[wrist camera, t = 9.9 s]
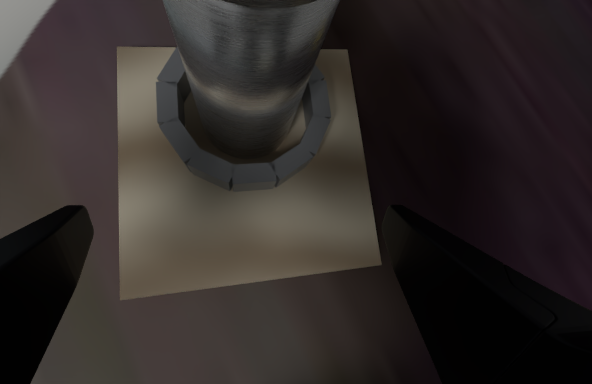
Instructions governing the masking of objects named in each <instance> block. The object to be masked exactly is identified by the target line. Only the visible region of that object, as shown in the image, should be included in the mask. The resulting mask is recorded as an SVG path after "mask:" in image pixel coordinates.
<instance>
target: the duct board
mask: <svg viewBox="0 0 592 384" xmlns="http://www.w3.org/2000/svg"><path fill="white" fill-rule="evenodd" d="M175 49H176V48H174V47H117V90H118V175H119V260H120V300H126V299H134V298H141V297H148V296H156V295H163V294H170V293H178V292H185V291H193V290H200V289H207V288H215V287H222V286H229V285H237V284H244V283H252V282H259V281H266V280H274V279H281V278H288V277H296V276H303V275H311V274H318V273H325V272H333V271H340V270H347V269H355V268H362V267H370V266H377V265H382V264H381V258H380V251H379V245H378V239H377V233H376V226H375V220H374V214H373V207H372V201H371V195H370V189H369V182H368V176H367V170H366V163H365V157H364V151H363V144H362V138H361V132H360V126H359V119H358V113H357V107H356V100H355V94H354V88H353V81H352V75H351V69H350V63H349V56H348V50H343V49H321V50H320V52H319V55H318V57H317V60H316V63H315V65H316V66H317V67H318V69H319V70H320V71H321V73H322V74H323V75H324V77H325V78H324V80H326V83H327V90H328V97H329V104H330V111H331V118H330V120H331V121H330V123H329V125H328V128H327V130H326V132H325V135H324V137H323V139H322V141H321V144H320V146H319V148H318V151H317V153H316V155H315V156H314V157H313V159H312V160H311V161H310V163H309V164H308V165H307V166H306V167H305V168H304V169H303V170H301V171H300V172H298V173H297V174H295V175H294V176H292V177H291V178H289V179H288V180H287V181H285V182H284V183H282V184H281V185H279V186H278V187H275V186H274V187H273V189H265V190H252V191H240V192H234V191H233V186H232V188H231V190H230V191H228V190H226V189H224V188H222V187H219V186H217V185H215V184H213V183H211V182H208V181H206V180H204V179H202V178H200V177H198V176H195V175H193V173H192V172H190V171H189V169H188V168H187V167H186V165H185V164H184V162H183V161H182V160H181V158H180V157H179V155H178V154H177V152H176V151H175V150H174V148H173V147H172V145H171V144H170V143H169V141H168V140H167V138H166V137H165V135H164V134H163V132H162V131H161V129H160V128H159V124H158V123H157V101H156V82H158V80H157V77H158V75H159V74H160V72H161V71H162V69H163V68H164V66H165V64H166V63H167V61H168V60H169V58H170V56H171V55H172V53H173V52H174V50H175ZM184 113H185V129H186V130H187V131H188V133H189V134H190V136H191V137H192V138H193V140H194V141H195V143H196V144H197V145H198V147H199V148H200V149H202V150H204V151H206V152H208V153H210V154H212V155H215V156H217V157H219V158H221V159H223V160H225V161H228V162H230V163H232V164H234V165H237V164H254V163H270V162H273V161H274V160H276V159H277V158H279V157H280V156H282V155H283V154H285V153H286V152H288V151H290V150H291V149H293V148H294V147H296V146H297V145H299V143H300V141H301V138H302V136H303V134H304V132H305V130H306V126H305V118H304V110H303V102H302V99H301V101H300V104H299V106H298V109H297V111H296V114H295V116H294V119H293V122H292V124H291V127H290V129H289V132H288V134H287V136H286V138H285V140H284V142H283V143H282V144H281V145H280V146H279V147H278V148H277V149H276V150H275V151H273V152H272V153H270V154H268V155H266V156H263V157H260V158H255V159H241V158H236V157H233V156H230V155H228V154H225V153H224V152H222V151H220V150H219V149H218V148H217V147H215V146H214V144H213V143H212V142H211V141H210V140H209V138H208V137H207V135H206V133H205V131H204V128H203V125H202V122H201V119H200V116H199V113H198V110H197V106H196V103H195V100H194V97H193V94H192V91H191V92H190V94H189V95H188V97H187V99H186V100H185V102H184Z"/></svg>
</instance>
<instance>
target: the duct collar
mask: <svg viewBox="0 0 592 384" xmlns="http://www.w3.org/2000/svg"><path fill="white" fill-rule="evenodd" d="M324 78H325V77H324V75H323V74H322V73H321V71H320V70H319V69H318V67H317V66H316V65H314V68H313V70H312V73H311V75H310V78H309V81H308V83H307V86H306V88H305V91H304V93H303V96H302V98H301V99H302V102H303V110H304V118H305V126H306V130H305V132H304V134H303V136H302V138H301V141H300V143H299V145H297V146H296V147H294V148H293V149H291V150H290V151H288V152H286V153H285V154H283V155H282V156H280V157H279V158H277V159H276V160H274V161H273V162H270V163H254V164H237V165H234V164H232V163H230V162H228V161H225V160H223V159H221V158H219V157H217V156H215V155H212V154H210V153H208V152H206V151H204V150H202V149H200V148H199V147H198V145H197V144H196V143H195V141H194V140H193V138H192V137H191V136H190V134H189V133H188V131H187V130H186V129H185V113H184V102H185V100H186V99H187V97H188V95H189V94H190V92H191V88H190V84H189V81H188V78H187V75H186V72H185V69H184V66H183V62H182V59H181V56H180V53H179V50H178V47H176V49H175V50H174V52H173V53H172V55H171V56H170V58H169V60H168V61H167V63H166V64H165V66H164V68H163V69H162V71H161V72H160V74H159V75H158V77H157V80H158V82H156V101H157V123H158V124H159V128H160V129H161V131H162V132H163V134H164V135H165V137H166V138H167V140H168V141H169V143H170V144H171V145H172V147H173V148H174V150H175V151H176V152H177V154H178V155H179V157H180V158H181V160H182V161H183V162H184V164H185V165H186V167H187V168H188V169H189V171H190V172H192V173H193V175H195V176H198V177H200V178H202V179H204V180H206V181H208V182H211V183H213V184H215V185H217V186H219V187H222V188H224V189H226V190H228V191H230V190H231V188H232V186H233V191H234V192H240V191H252V190H265V189H273V187H274V186H275V187H278V186H279V185H281V184H282V183H284V182H285V181H287V180H288V179H289V178H291V177H292V176H294V175H295V174H297V173H298V172H300V171H301V170H303V169H304V168H305V167H306V166H307V165H308V164H309V163H310V161H311V160H312V159H313V157H314V156H315V155H316V153H317V151H318V148H319V146H320V144H321V141H322V139H323V137H324V135H325V132H326V130H327V128H328V125H329V123H330V121H331V120H330V118H331V111H330V104H329V97H328V90H327V83H326V80H324Z"/></svg>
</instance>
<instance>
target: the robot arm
mask: <svg viewBox="0 0 592 384" xmlns="http://www.w3.org/2000/svg"><path fill="white" fill-rule="evenodd" d="M382 233H383V237H384V240H385V243H386V247H387V250H388V253H389V256H390V260H391V263H392V266H393V269H394V272H395V274H396V277H397V279H398V282H399V284H400V286H401V289H402V291H403V293H404V296H405V298H406V300H407V302H408V305H409V307H410V309H411V312H412V314H413V316H414V319H415V321H416V323H417V326H418V328H419V330H420V333H421V335H422V337H423V340H424V342H425V344H426V347H427V349H428V351H429V354H430V356H431V358H432V361H433V363H434V365H435V368H436V370H437V372H438V375H439V377H440V379H441V382H442V384H592V311H591V310H589V309H587V308H585V307H583V306H581V305H579V304H577V303H575V302H573V301H571V300H569V299H567V298H565V297H563V296H561V295H560V294H558V293H556V292H554V291H552V290H550V289H548V288H546V287H544V286H542V285H541V284H539V283H537V282H535V281H533V280H531V279H530V278H528V277H526V276H524V275H523V274H521V273H519V272H517V271H515V270H514V269H512V268H510V267H509V266H507V265H503V263H502V262H500V261H498V260H496V259H495V258H493V257H491V256H489V255H488V254H486V253H484V252H482V251H481V250H479V249H477V248H475V247H474V246H472V245H470V244H469V243H467V242H465V241H463V240H462V239H460V238H458V237H456V236H455V235H453V234H451V233H449V232H448V231H446V230H444V229H443V228H441V227H439V226H437V225H436V224H434V223H432V222H430V221H429V220H427V219H425V218H423V217H422V216H420V215H418V214H416V213H415V212H413V211H411V210H410V209H408V208H406V207H404V206H403V205H390V206H388V208H387V210H386V213H385V216H384V219H383V222H382ZM93 235H94V229H93V225H92V223H91V220H90V217H89V214H88V211H87V209H86V207H85V206H83V205H67V206H64V207H63V208H61V209H59V210H57V211H55V212H53V213H51V214H49V215H47V216H45V217H43V218H41V219H39V220H37V221H35V222H33V223H31V224H29V225H27V226H25V227H23V228H21V229H19V230H17V231H15V232H13V233H11V234H9V235H7V236H5V237H3V238H1V239H0V384H30V383H31V381H32V379H33V377H34V375H35V373H36V371H37V368H38V366H39V364H40V362H41V360H42V358H43V356H44V354H45V352H46V349H47V347H48V345H49V343H50V341H51V339H52V337H53V335H54V333H55V330H56V328H57V326H58V324H59V322H60V320H61V318H62V316H63V314H64V311H65V309H66V307H67V305H68V303H69V301H70V299H71V297H72V295H73V292H74V290H75V288H76V286H77V283H78V280H79V278H80V275H81V272H82V269H83V266H84V263H85V260H86V257H87V254H88V251H89V248H90V245H91V242H92V239H93Z"/></svg>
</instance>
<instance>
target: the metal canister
mask: <svg viewBox="0 0 592 384" xmlns="http://www.w3.org/2000/svg"><path fill="white" fill-rule="evenodd" d="M339 1H340V0H163V3H164V6H165V9H166V12H167V15H168V18H169V21H170V25H171V28H172V31H173V34H174V37H175V40H176V43H177V47H178V50H179V53H180V56H181V59H182V62H183V66H184V69H185V72H186V75H187V78H188V81H189V84H190V88H191V91H192V94H193V97H194V100H195V103H196V106H197V110H198V113H199V116H200V119H201V122H202V125H203V128H204V131H205V133H206V135H207V137H208V138H209V140H210V141H211V142H212V143H213V144H214V146H215V147H217V148H218V149H219V150H220V151H222V152H224V153H225V154H228V155H230V156H233V157H236V158H241V159H255V158H260V157H263V156H266V155H268V154H270V153H272V152H273V151H275V150H276V149H277V148H278V147H279V146H280V145H281V144H282V143H283V142H284V140H285V138H286V136H287V134H288V132H289V129H290V127H291V124H292V122H293V119H294V116H295V114H296V111H297V109H298V106H299V104H300V101H301V98H302V96H303V93H304V91H305V88H306V86H307V83H308V81H309V78H310V75H311V73H312V70H313V68H314V65H315V63H316V60H317V57H318V55H319V52H320V50H321V47H322V45H323V42H324V40H325V37H326V34H327V32H328V29H329V27H330V24H331V22H332V19H333V16H334V14H335V11H336V9H337V6H338V4H339Z"/></svg>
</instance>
